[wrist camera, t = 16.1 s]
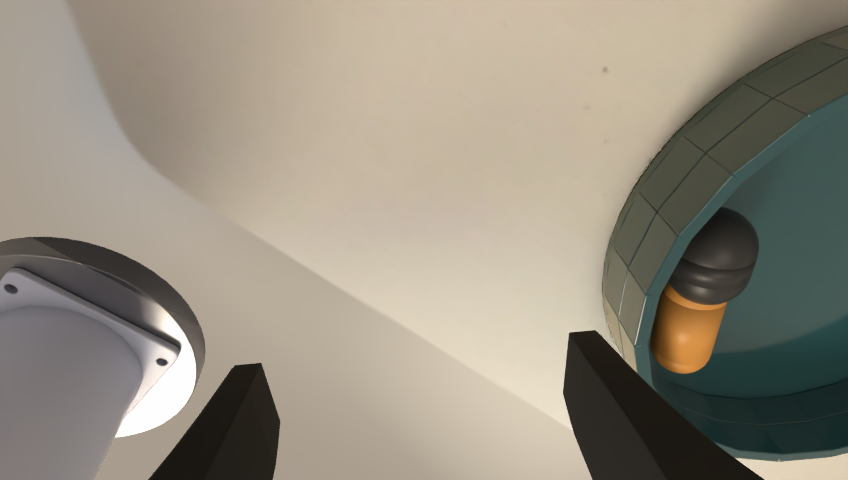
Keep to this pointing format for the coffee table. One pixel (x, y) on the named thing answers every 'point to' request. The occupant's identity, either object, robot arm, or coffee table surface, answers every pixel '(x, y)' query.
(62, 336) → the robot arm
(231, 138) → the coffee table surface
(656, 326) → the microphone
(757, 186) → the bowl
